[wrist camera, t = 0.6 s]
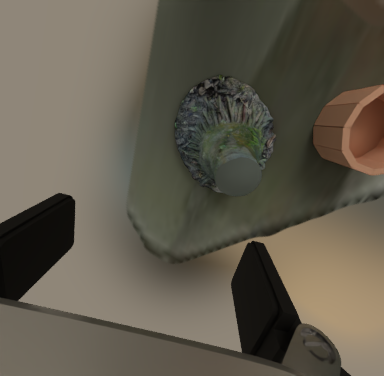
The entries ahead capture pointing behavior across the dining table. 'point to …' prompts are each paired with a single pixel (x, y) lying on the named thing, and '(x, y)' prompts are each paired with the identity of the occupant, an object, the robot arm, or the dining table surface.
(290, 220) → the dining table surface
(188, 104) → the tree stump
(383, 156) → the bowl
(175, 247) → the dining table surface
